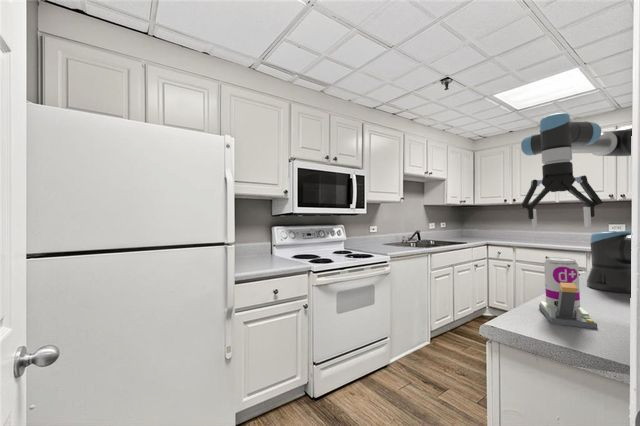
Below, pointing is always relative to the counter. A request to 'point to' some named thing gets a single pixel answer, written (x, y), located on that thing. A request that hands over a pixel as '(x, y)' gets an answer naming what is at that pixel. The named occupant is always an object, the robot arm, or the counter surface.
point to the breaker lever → (566, 300)
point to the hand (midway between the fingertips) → (560, 228)
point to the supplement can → (560, 279)
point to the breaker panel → (579, 320)
